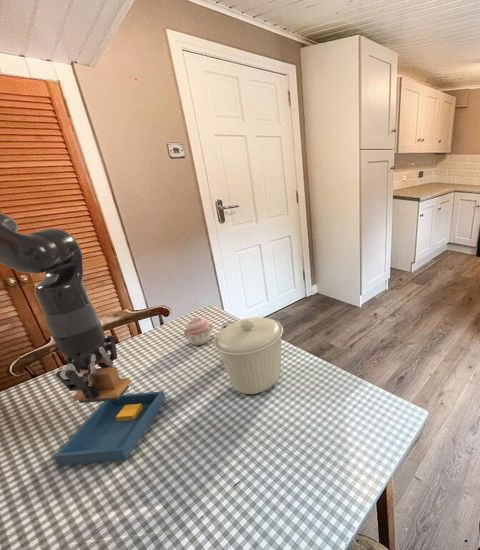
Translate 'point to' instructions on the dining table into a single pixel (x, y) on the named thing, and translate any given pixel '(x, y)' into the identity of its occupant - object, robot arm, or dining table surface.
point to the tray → (110, 431)
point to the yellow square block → (129, 412)
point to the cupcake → (198, 331)
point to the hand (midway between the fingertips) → (102, 388)
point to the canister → (251, 353)
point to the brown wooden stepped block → (105, 385)
